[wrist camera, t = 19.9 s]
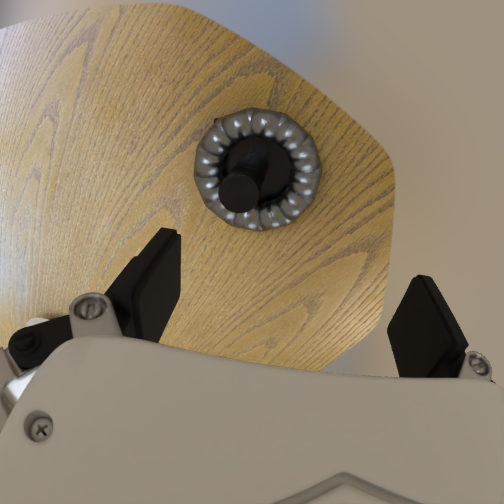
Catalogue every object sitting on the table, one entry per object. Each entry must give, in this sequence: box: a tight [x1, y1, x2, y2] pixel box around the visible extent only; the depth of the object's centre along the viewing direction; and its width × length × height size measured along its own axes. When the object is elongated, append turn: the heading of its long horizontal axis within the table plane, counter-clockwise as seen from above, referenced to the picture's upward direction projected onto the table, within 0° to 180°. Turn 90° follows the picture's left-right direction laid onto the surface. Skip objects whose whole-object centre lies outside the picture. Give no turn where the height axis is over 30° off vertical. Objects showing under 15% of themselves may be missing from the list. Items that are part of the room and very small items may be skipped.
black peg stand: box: [214, 118, 292, 213], centre depth 26 cm, size 9×9×10 cm
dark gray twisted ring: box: [194, 107, 322, 232], centre depth 28 cm, size 12×12×3 cm
